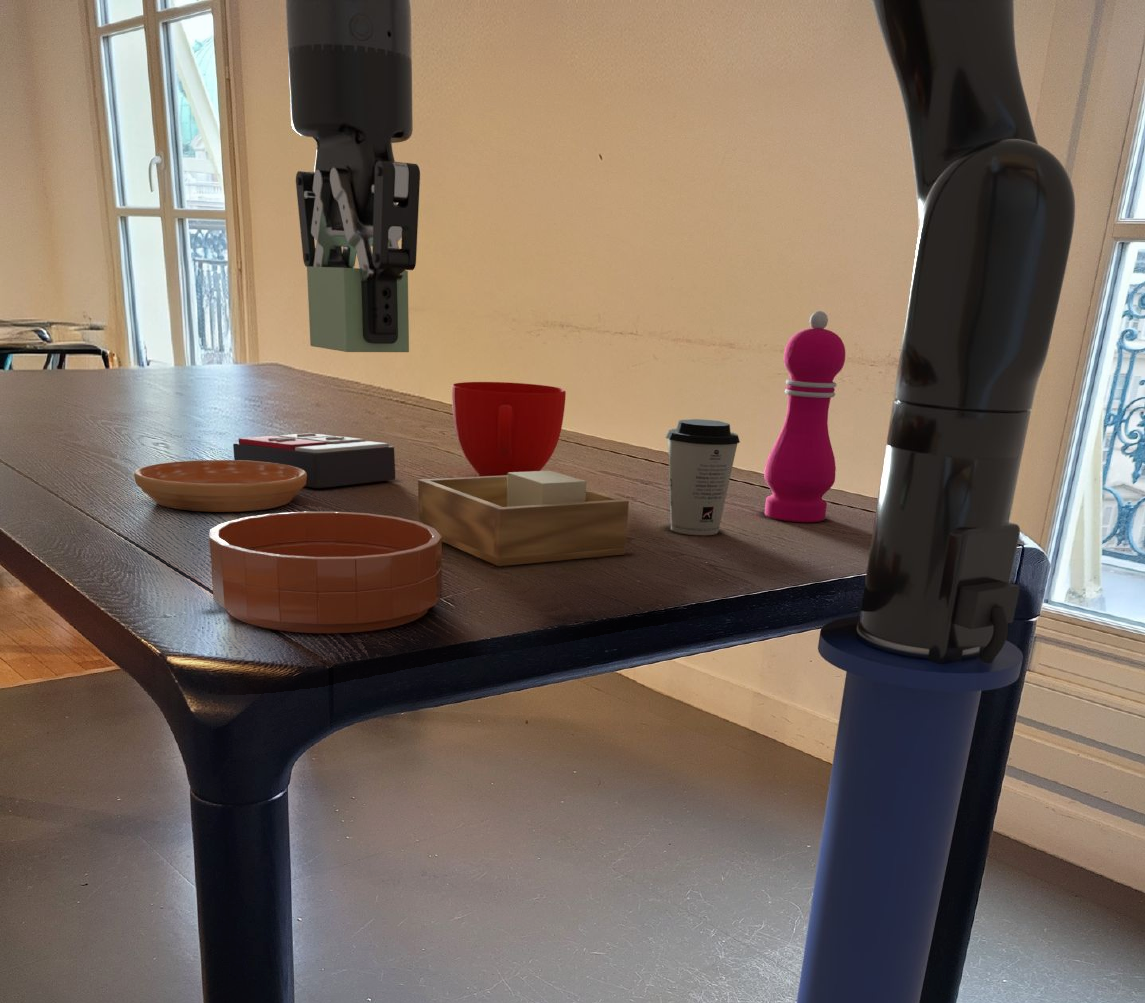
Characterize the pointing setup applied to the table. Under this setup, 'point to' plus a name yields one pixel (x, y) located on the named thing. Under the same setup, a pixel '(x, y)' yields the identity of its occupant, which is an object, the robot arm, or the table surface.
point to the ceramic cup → (507, 425)
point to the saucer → (220, 484)
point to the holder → (520, 522)
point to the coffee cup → (699, 474)
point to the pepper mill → (805, 426)
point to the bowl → (325, 570)
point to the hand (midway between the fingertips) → (359, 339)
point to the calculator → (323, 457)
